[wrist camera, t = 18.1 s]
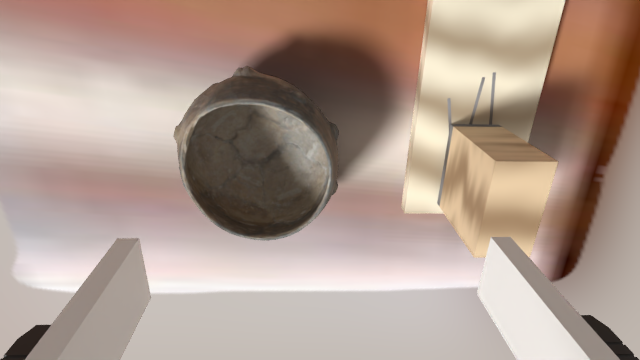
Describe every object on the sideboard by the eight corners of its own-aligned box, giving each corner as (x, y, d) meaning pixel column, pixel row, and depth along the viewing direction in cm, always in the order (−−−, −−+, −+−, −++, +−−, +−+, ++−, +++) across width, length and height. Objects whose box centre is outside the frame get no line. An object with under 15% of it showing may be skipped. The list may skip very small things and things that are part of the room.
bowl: (254, 33, 36) (239, 43, 27) (366, 141, 41) (385, 181, 32) (165, 137, 40) (126, 177, 31) (278, 224, 45) (272, 281, 36)
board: (431, -31, 35) (437, -32, 33) (561, -26, 35) (572, -27, 34) (401, 206, 45) (404, 213, 43) (503, 206, 45) (509, 213, 44)
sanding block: (450, 124, 39) (495, 161, 30) (498, 124, 39) (558, 161, 30) (437, 203, 43) (474, 257, 34) (481, 203, 43) (529, 257, 34)
